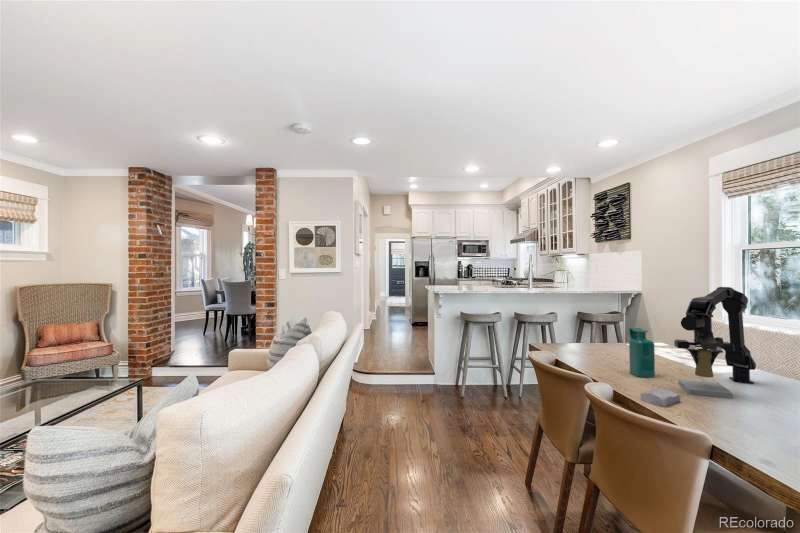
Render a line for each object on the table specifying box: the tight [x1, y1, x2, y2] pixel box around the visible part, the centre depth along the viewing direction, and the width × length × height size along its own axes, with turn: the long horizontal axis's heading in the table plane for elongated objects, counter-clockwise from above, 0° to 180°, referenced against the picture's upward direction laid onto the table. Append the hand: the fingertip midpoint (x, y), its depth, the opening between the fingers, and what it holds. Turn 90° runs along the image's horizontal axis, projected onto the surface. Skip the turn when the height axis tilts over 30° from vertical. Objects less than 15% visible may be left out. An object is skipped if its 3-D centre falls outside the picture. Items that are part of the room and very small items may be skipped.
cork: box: [694, 348, 714, 378], centre depth 151 cm, size 6×6×11 cm
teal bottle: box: [628, 327, 656, 378], centre depth 175 cm, size 10×8×22 cm
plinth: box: [678, 379, 734, 399], centre depth 151 cm, size 14×14×2 cm
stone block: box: [640, 388, 681, 408], centre depth 141 cm, size 12×5×10 cm
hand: (703, 365), depth 151 cm, fingers closed on cork, 4 cm apart
